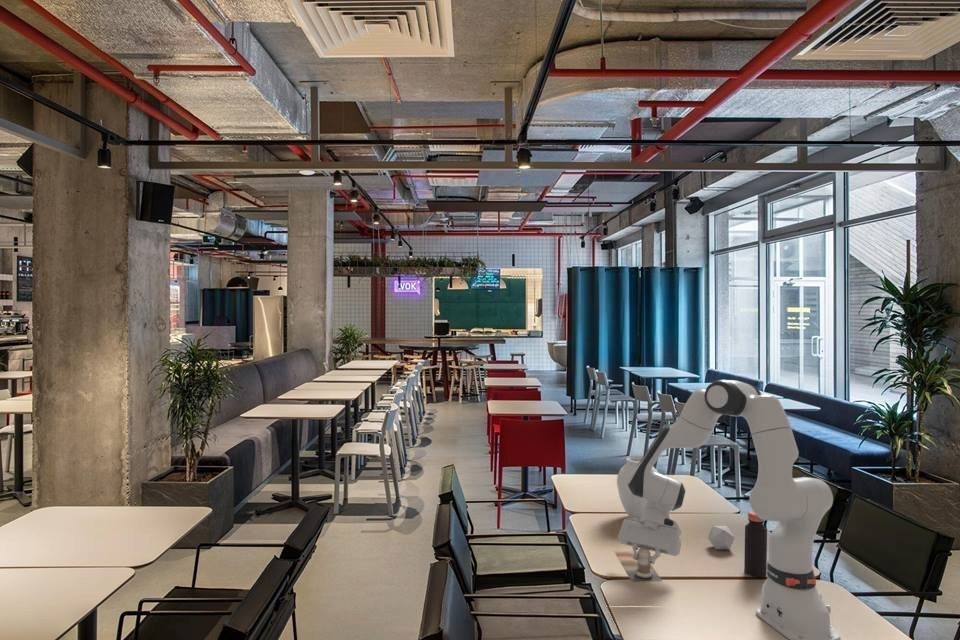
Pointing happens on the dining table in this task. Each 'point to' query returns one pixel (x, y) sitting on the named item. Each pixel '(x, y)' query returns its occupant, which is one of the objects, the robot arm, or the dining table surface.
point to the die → (721, 537)
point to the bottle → (755, 546)
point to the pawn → (643, 564)
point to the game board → (634, 566)
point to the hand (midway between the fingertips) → (643, 560)
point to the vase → (629, 501)
